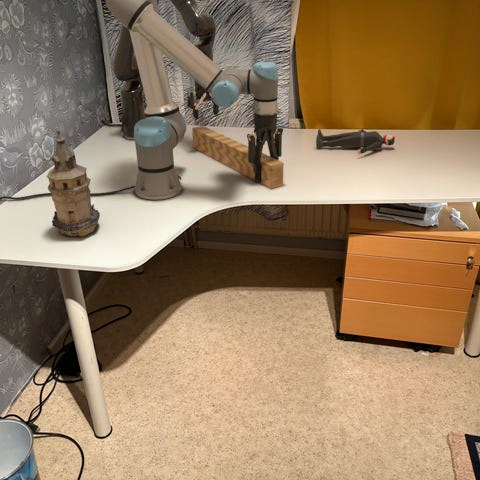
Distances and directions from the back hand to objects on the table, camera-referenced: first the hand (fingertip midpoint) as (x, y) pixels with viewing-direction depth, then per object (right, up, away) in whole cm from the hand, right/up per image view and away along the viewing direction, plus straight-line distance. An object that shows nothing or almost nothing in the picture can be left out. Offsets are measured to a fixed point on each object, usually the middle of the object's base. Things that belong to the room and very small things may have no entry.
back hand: (206, 116), depth 204 cm
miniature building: (-34, -44, -49) cm, 74 cm away
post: (+11, -19, -7) cm, 23 cm away
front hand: (+21, -26, -20) cm, 39 cm away
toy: (+58, -10, +8) cm, 60 cm away
